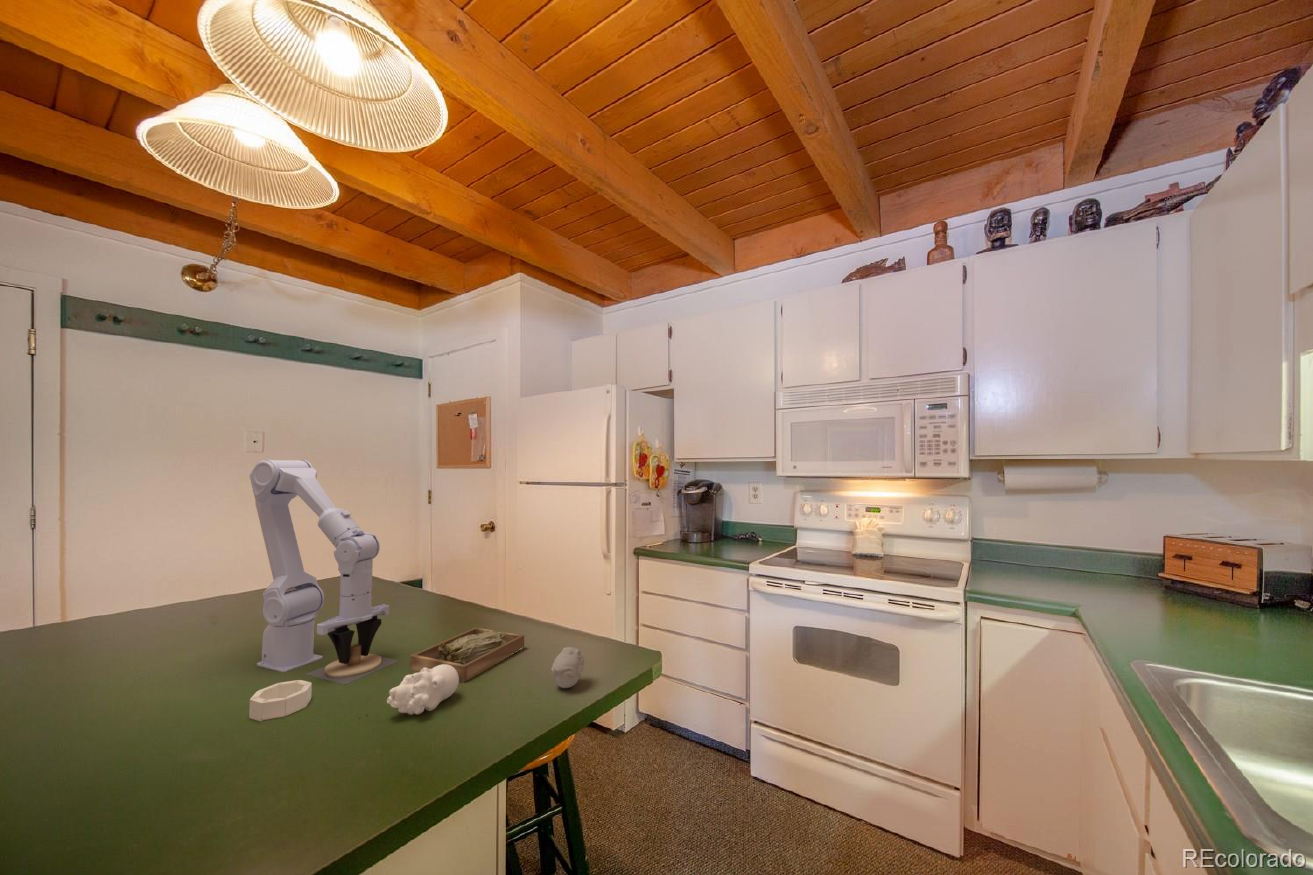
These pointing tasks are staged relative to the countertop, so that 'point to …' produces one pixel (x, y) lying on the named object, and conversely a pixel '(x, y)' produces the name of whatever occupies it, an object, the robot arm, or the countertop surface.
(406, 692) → the figurine
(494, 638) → the dried leaf bundle
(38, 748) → the countertop surface
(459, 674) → the frame
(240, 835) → the countertop surface
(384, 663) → the mat
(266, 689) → the bowl
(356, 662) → the lid
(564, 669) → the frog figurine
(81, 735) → the countertop surface
